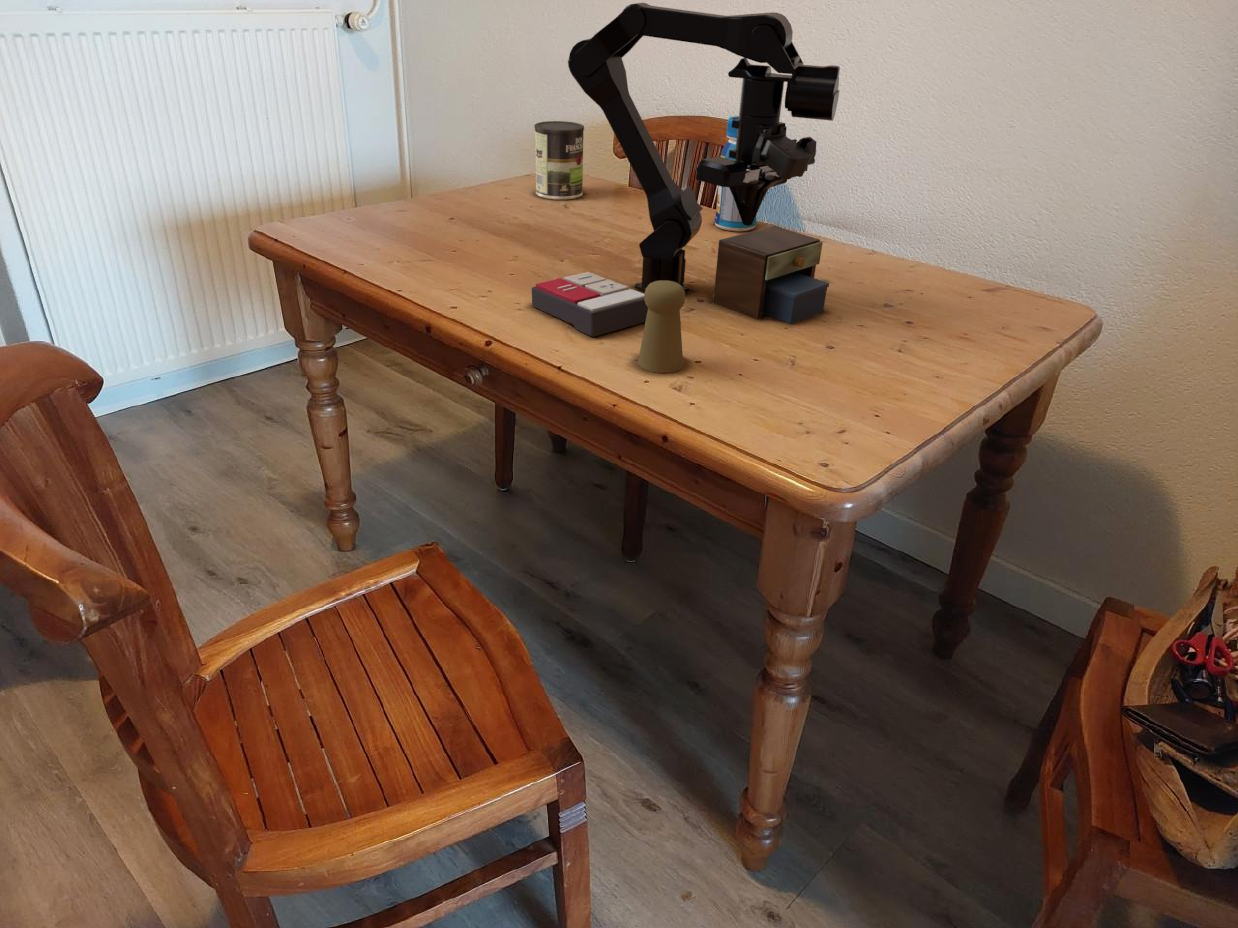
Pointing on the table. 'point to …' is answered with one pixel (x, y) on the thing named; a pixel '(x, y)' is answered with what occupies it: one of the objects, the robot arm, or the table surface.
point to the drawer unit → (752, 266)
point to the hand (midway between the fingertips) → (747, 225)
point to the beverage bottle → (729, 192)
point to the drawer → (793, 260)
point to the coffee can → (559, 159)
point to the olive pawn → (662, 328)
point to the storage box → (794, 297)
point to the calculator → (591, 303)
